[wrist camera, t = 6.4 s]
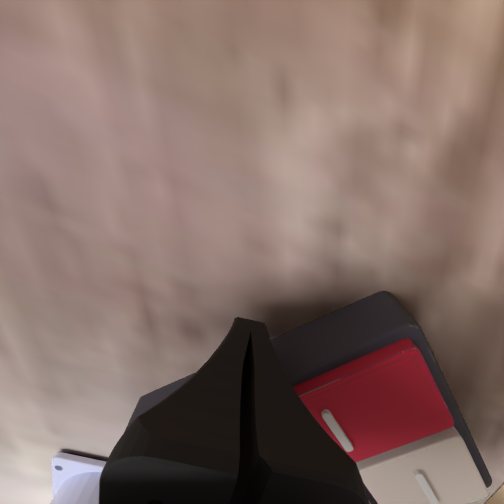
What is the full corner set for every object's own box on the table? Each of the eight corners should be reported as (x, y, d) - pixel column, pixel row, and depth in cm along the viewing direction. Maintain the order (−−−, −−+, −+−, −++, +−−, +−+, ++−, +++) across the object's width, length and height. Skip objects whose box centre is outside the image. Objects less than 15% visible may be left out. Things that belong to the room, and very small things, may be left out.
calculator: (509, 505, 13) (232, 588, 16) (450, 420, 17) (237, 499, 20) (430, 332, 10) (99, 475, 13) (379, 277, 14) (137, 395, 17)
